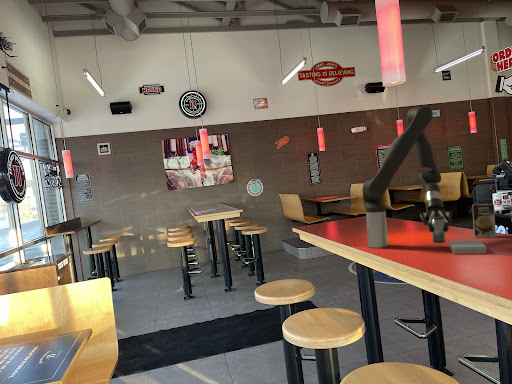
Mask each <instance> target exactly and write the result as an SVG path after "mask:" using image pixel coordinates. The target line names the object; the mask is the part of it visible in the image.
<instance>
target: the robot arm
mask: <svg viewBox="0 0 512 384" xmlns="http://www.w3.org/2000/svg"><path fill="white" fill-rule="evenodd" d="M433 116H434V114H433V110H432V108H431V107H429V106H428V105H427V106H426V105H424V106H423V105H421V106H418V107H413V108H410V109H409V110H408V112H407V114H406V121H407V125H408V127H407V128H406V129H405V130H404V131H403V132H402V133H401V134H400V135H399V136H397V137H396V138H395V139H394V140H393V141H392V143H391V144H390V146H389V147H388V149H387V150H386V152H385V154H384V156H383V161H382V164H381V167H380V168H379V170H378V172H377V173H376V175H375V176H374V177H373V178H372V179H371V178H369V179H368V180H367V179H366V181H365V182H364V183H363V185H362V189H361V190H362V200H363V206H364V208H365V209H364V210H365V216H366V231H367V233H366V235H367V245H368V248H372V249H373V248H375V249H377V248H387V247H388V246H389V239H388V238H389V237H388V228H387V214H386V205H385V204H384V202H383V200H382V199H383V198H382V197H383V196H385V193H386V192H387V189H388V188H389V185H390V183H391V181H392V179H393V178H394V176H395V174H396V173H397V171H399V169H400V167H401V165H402V164H403V163H404V162H405V159H406V158H407V156H408V155H409V153H410V151H411V150H412V148H413V147H414V145H415V149H416V152H417V158H418V164H419V167H421V168H429V169H431V170H426V171H421V172H419V174H418V175H417V179H418V183H419V184H420V185H421V187H422V190H423V194H424V204H425V210H426V212H421V211H420V214H419V216H420V220H421V223H423V224H422V225H423V226H427V227H428V231H429V232H430V233H432V232H433V229H432V223H431V216H444V217H445V218H444V221H445V233H447V232H448V231H449V225H452V221H453V211H446V210H445V207H444V202H443V198H442V194H441V191H440V186H439V183H441V181H442V175H441V173H440V171H439V169H438V167H437V165H436V163H435V156H434V151H433V148H432V145H431V143H430V142H429V140H428V138H427V137H426V134H425V129H426V128H427V127H428V125H429V124H430V123H431V122H432V119H433ZM426 217H427V218H429V219H428V220H427V218H426ZM446 217H447V218H448V220H447V219H446Z"/></svg>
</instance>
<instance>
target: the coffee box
mask: <svg viewBox="0 0 512 384" xmlns="http://www.w3.org/2000/svg"><path fill="white" fill-rule="evenodd" d="M495 217H496V215H495V204H494V203H473V204H472V220H473V221H472V222H473V223H472V224H473V237H474V238H477V239H480V238H481V239H482V238H483V239H484V238H486V239H487V238H488V239H489V238H490V239H493V238H495V239H496V238H497V234H496V218H495Z"/></svg>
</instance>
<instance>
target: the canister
mask: <svg viewBox="0 0 512 384" xmlns="http://www.w3.org/2000/svg"><path fill="white" fill-rule="evenodd" d="M444 218H445V219H446V216H431V223H432V229H433V232H431V236H432V237H431V238H432V240H431V241H432V243H435V244H444V243H446V242H447V241H446V240H447V239H446V232H445V221H444Z"/></svg>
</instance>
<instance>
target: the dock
mask: <svg viewBox="0 0 512 384" xmlns="http://www.w3.org/2000/svg"><path fill="white" fill-rule="evenodd" d="M448 249H449V250H450V251H451V252H452V254H453V255H479V254H480V255H481V254H483V255H484V254H487V246H486V245H485V244H484V243H482V241H480V240H467V241H466V240H464V241H461V240H460V241H448Z"/></svg>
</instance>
